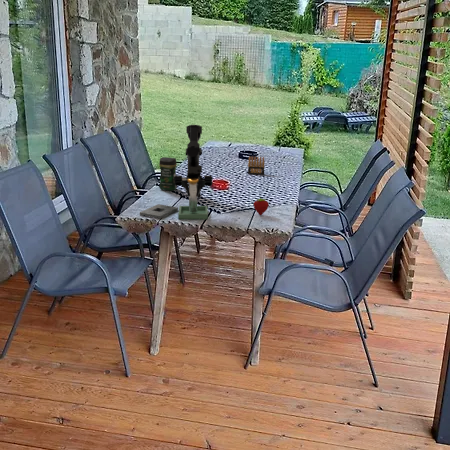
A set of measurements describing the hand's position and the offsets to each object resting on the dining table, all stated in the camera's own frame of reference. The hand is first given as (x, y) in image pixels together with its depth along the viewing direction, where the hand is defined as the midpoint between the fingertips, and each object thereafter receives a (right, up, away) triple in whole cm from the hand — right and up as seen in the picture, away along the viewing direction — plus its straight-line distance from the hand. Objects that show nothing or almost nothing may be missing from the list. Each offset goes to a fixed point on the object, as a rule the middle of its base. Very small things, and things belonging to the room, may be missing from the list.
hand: (193, 195), depth 256 cm
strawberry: (+33, -9, +5) cm, 35 cm away
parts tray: (0, -9, +4) cm, 10 cm away
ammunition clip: (+36, +19, +87) cm, 96 cm away
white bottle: (0, -7, +4) cm, 8 cm away
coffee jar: (-17, +6, +49) cm, 53 cm away
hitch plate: (-17, -8, +7) cm, 20 cm away
